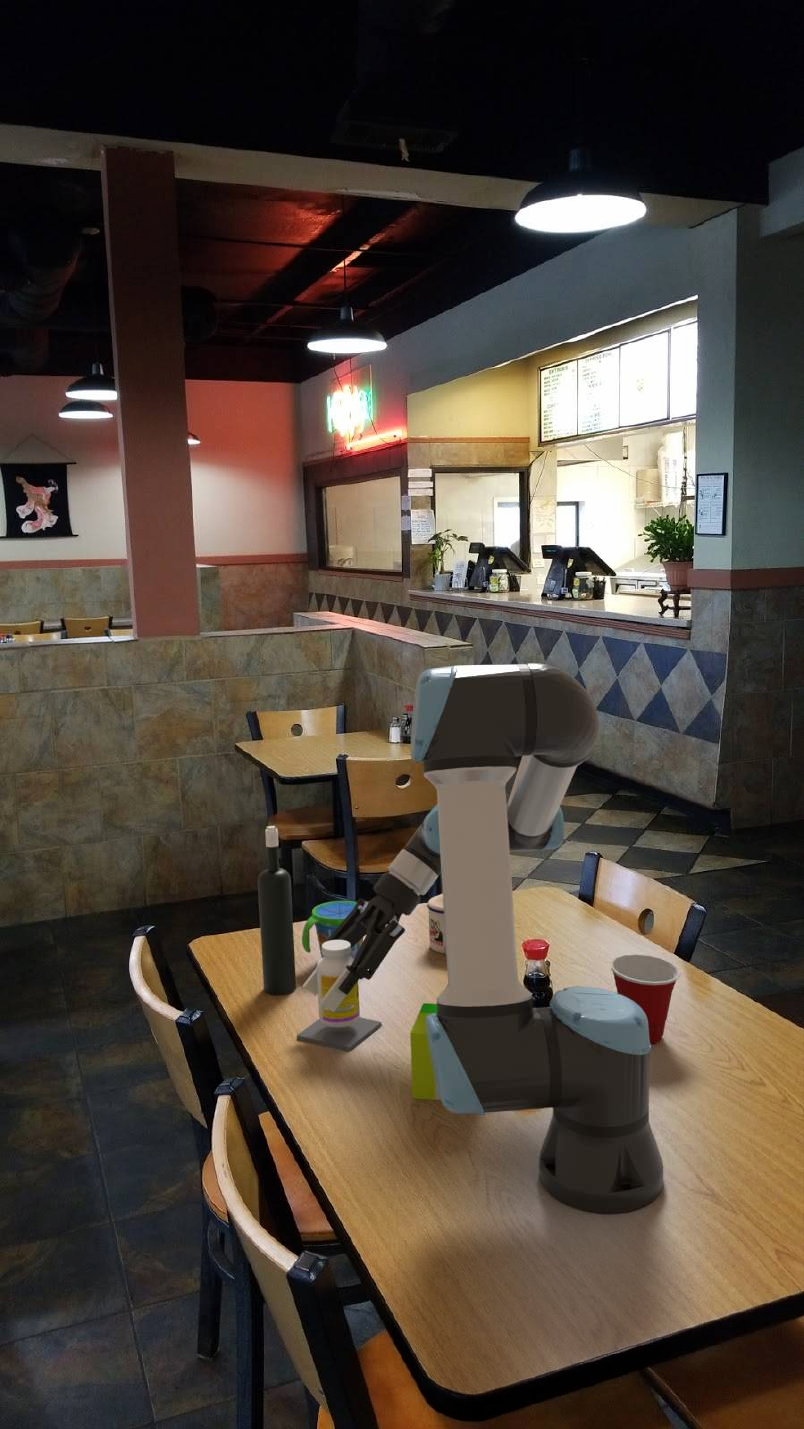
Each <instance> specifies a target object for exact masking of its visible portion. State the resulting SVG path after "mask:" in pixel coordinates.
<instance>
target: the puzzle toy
mask: <svg viewBox="0 0 804 1429" xmlns="http://www.w3.org/2000/svg"><path fill="white" fill-rule="evenodd" d="M432 1013H436V1014H437V1003H426V1002H423V1003H422V1005H421V1007H420V1010H419V1011H418V1015H417V1017H416V1019H415V1021H414V1024H413V1025H412V1029H411V1030H410V1035H409V1036H410V1061H411V1064H410V1065H411V1090H412V1099H419V1100H421V1099H422V1100H433V1101H441V1098H440V1095H439V1092H438V1088H437V1083H436V1079H435V1075H434V1070H433V1065H432V1060H431V1055H430V1050H429V1044H428V1038H427V1027H426V1017H427V1016H429V1015H431V1014H432Z"/></svg>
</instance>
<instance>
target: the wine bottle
mask: <svg viewBox="0 0 804 1429" xmlns="http://www.w3.org/2000/svg"><path fill="white" fill-rule="evenodd" d="M278 831H279V830H278V828H276V825H269V826H268V825H267V826H266V829H265V831H264V832H265V833H264V834H265V846H266V856H267V869H264V870H262V871H261V872H260V873H259V875H258V877H257V888H258V889H257V892H258V906H259V907H258V909H259V911H258V912H259V926H260V928H259V929H260V944H261V945H260V946H261V962H262V963H261V964H262V977H263V979H262V981H263V982H262V983H263V991H264V993H265V994H268V995H271V996H284V995H289V994H291V993H293V992H294V991H296V988H297V982H296V981H297V980H296V979H297V977H296V976H297V975H296V961H295V960H296V959H295V957H296V956H295V942H294V941H295V938H294V920H293V919H294V918H293V901H292V882H291V881H292V880H291V874H290V873H289V871H287V870H286V869H284V868H281V867H280V862H279V860H280V859H279V832H278Z"/></svg>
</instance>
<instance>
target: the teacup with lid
mask: <svg viewBox="0 0 804 1429" xmlns="http://www.w3.org/2000/svg"><path fill="white" fill-rule="evenodd" d="M426 906H427V909H428V934H429V935H428V936H429V938H428V939H429V947H430V949H431V950H433V951H435V952H437V953H440V954H446V939H445V922H444V905H443V892H442V893H441V894H439V895H438V894H437V895H436V896H433V897H431V898H430V899H429V900H428V901H427V904H426Z"/></svg>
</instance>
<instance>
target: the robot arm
mask: <svg viewBox="0 0 804 1429" xmlns="http://www.w3.org/2000/svg"><path fill="white" fill-rule="evenodd" d="M599 729H600V721H599V714H598V710H597V708H596V705H595V703H594V701H593V698H592V697H591V695H590V694H589V692H588V691H587V690H586V688H585V687H584V685H582V684H581V683H580V682H579V681H578V680H577V679H576V678H574V677H573V676H571V674H569V673H568V672H566V671H564V670H562V669H560V668H558V667H555V666H553V665H550V664H546V663H545V664H544V663H538V662H526V663H518V664H513V663H510V664H473V665H472V664H469V665H467V664H466V665H465V664H464V665H462V664H461V665H452V666H444V667H436V668H430V669H429V668H428V669H426V670H424V671H423V672H422V673H421V674H420V675H419V676H418V679H417V680H416V687H415V690H414V697H413V707H412V716H411V730H410V758H411V760H412V761H414V762H417V763H422V764H423V765H422V766H423V777H424V778H425V779H426V780H427V781H429V782H430V783H431V784H432V785H433V786H434V788H435V790H436V799H437V804H435V805H434V807H432V808H431V810H430V811H429V812H428V813H427V815H426V816H425V818H424V820H423V822H422V823H421V824H420V825H419V827H418V828H417V829H416V831H415V832H414V834H413V835H412V836H411V838H410V839H409V840H408V842H407V843H406V844H405V845H404V846H403V848H402V849H401V850H400V851H399V853H398V854H397V855H396V857H395V858H394V859H393V861H392V862H391V863H390V864H389V866H388V870H389V872H388V871H386V872H384V873H382V875H381V877H380V878H379V879H378V881H377V882H376V883H375V884H374V886H373V891H374V892H375V896H374V897H373V898H371V900H369V901H365V899H363V898H359V899H358V900H357V901H356V902H357V903H356V905H355V907H354V908H353V910H352V911H351V912H350V914H349V915H348V916H347V917H346V918H345V919H344V921H343V922H342V923H341V924H340V925H339V927H338V928H337V929H336V930H335V931H334V933H333V934H332V935H331V936H330V937H329V938H328V940H327V941H331V940H345V941H348V942H349V943H350V944H351V948H352V947H353V946H354V945H356V944H357V943H358V942H359V941H360V940H361V939H362V938H363V943H362V945H361V947H360V949H359V951H358V953H357V955H356V957H355V959H354V961H353V963H352V965H351V966H346V968H345V969H344V971H343V972H342V973H341V975H340V976H339V977H338V979H337V980H336V981H335V983H334V984H333V985H332V987H331V988H330V989H329V991H328V992H327V993H326V995H325V996H324V997H323V999H322V1000H321V1001H320V1003H322V1004H323V1005H324V1006H325V1007H327V1008H328V1009H330V1010H331V1011H332V1012H334V1011H335V1010H336V1009H337V1007H338V1006H339V1005H340V1003H341V1002H342V1001H343V999H344V998H345V997H346V995H347V994H348V993H349V992H350V991H351V990H352V988H353V987H354V986H355V984H356V983H357V981H358V982H359V981H360V980H364V979H366V980H368V981H369V980H371V979H372V978H373V976H374V974H375V973H376V972H377V971H378V968H379V967H380V966H381V964H382V963H383V961H384V960H385V958H386V957H387V955H388V954H389V952H390V950H391V949H392V947H393V946H394V945H395V943H396V942H397V940H398V939H400V937H401V936H403V934H405V932H406V929H405V927H403V925H401V924H400V923H399V922H400V919H401V918H402V915H405V916H407V917H408V916H410V915H411V914H412V913H413V911H414V910H415V909H416V907H417V906H418V905H419V903H421V897H420V895H421V896H424V895H426V894H427V892H428V891H429V890H430V888H431V887H432V886H433V885H434V883H435V881H436V880H437V879H438V877H440V875H441V884H442V893H443V905H444V922H445V939H446V953H445V955H446V968H447V969H446V973H447V985H446V987H445V988H444V989H443V990H442V992H441V993H440V994H439V995H438V996H437V997H436V1004H437V1014H436V1013H432V1014H431V1015H429V1016H427V1017H426V1027H427V1038H428V1044H429V1050H430V1055H431V1060H432V1065H433V1070H434V1075H435V1079H436V1083H437V1088H438V1092H439V1095H440V1098H441V1100H440V1101H441V1103H442V1105H443V1108H445V1110H447V1111H448V1112H450V1113H452V1114H458V1115H459V1114H479V1115H481V1116H484V1115H485V1114H486V1113H487V1114H489V1113H501V1112H502V1113H503V1112H514V1111H525V1110H526V1111H529V1110H540V1109H541V1110H542V1109H551V1108H552V1117H551V1120H550V1123H549V1125H548V1129H547V1130H546V1135H545V1138H544V1140H543V1143H542V1146H541V1149H540V1152H539V1160H538V1163H539V1165H538V1166H539V1168H538V1169H539V1171H538V1172H539V1178H540V1182H541V1184H542V1186H543V1187H544V1189H545V1190H546V1191H547V1192H548V1194H550V1195H551V1196H552V1197H554V1198H555V1199H557V1200H558V1201H560V1202H561V1203H563V1204H565V1205H568V1206H571V1207H573V1208H576V1209H579V1210H582V1211H587V1212H593V1213H599V1214H600V1213H601V1214H617V1213H625V1212H631V1211H635V1210H638V1209H641V1208H643V1207H645V1206H647V1205H648V1204H650V1203H652V1202H653V1201H655V1200H656V1199H657V1198H658V1196H659V1195H660V1194H661V1192H662V1190H663V1186H664V1163H663V1162H664V1161H663V1158H662V1155H661V1153H660V1150H659V1147H658V1144H657V1141H656V1138H655V1135H654V1132H653V1129H652V1127H651V1123H650V1110H649V1108H650V1051H651V1048H652V1045H651V1044H650V1040H649V1028H648V1020H647V1017H646V1014H645V1013H644V1011H643V1010H642V1008H641V1007H640V1006H639V1005H638V1004H636V1003H635V1002H634V1001H632V1000H631V999H629V998H627V997H625V996H623V995H620V994H618V993H617V992H615V991H611V990H607V989H604V988H601V987H593V986H579V985H577V986H570V987H564V988H563V989H559V990H557V991H556V992H554V993H553V995H552V998H551V1000H550V1002H549V1006H547V1007H533V1006H534V1005H533V995H532V992H531V991H529V990H528V989H527V988H526V987H525V986H524V985H523V984H522V983H521V982H520V980H519V972H518V957H517V942H516V940H517V939H516V928H515V927H516V926H515V913H514V897H513V896H514V895H513V883H512V880H513V879H512V867H511V853H512V852H513V853H515V852H542V851H545V850H554V849H558V848H559V847H561V846H562V844H563V843H564V836H565V835H564V834H565V820H564V814H563V811H562V808H561V804H562V802H563V800H564V797H565V795H566V793H567V791H568V788H569V785H570V784H571V781H572V778H573V776H574V774H575V772H576V769H577V767H578V766H579V765H581V764H582V763H583V762H585V761H586V760H587V759H588V758H589V756H591V753H592V752H593V750H594V747H595V745H596V742H597V740H598V737H599V732H600V731H599ZM517 757H521V760H520V763H519V766H518V768H517ZM517 769H518V770H517ZM516 772H517V773H516ZM515 773H516V775H515V779H514V782H513V785H512V789H511V791H510V794H509V795H510V796H509V799H508V801H507V793H506V791H507V790H506V787H507V786H506V785H507V782H509V781H510V779H511V778H512V777H513V776H514V774H515ZM327 941H326V942H327ZM347 969H348V970H349V971H348V970H347ZM302 987H303V988H305V989H306V990H307V991H308V992H310V993H311V994H312V995H314V996H318V986H317V967H315V969H314V970H313V971H312V973H311V974H310V976H309V977H308V978H307V979H306V981H305V982H304V983H303V985H302Z"/></svg>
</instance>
